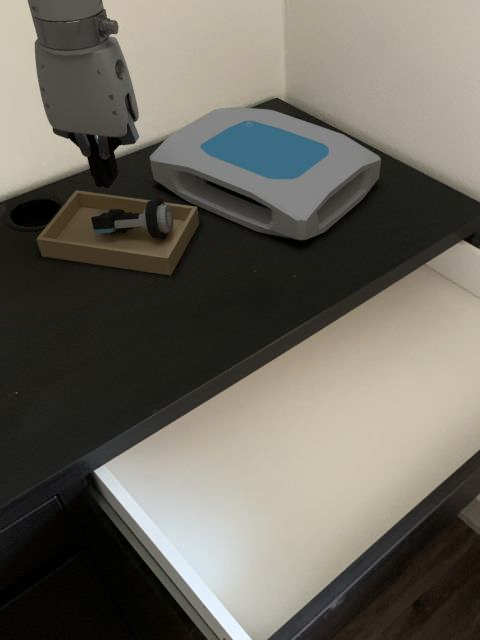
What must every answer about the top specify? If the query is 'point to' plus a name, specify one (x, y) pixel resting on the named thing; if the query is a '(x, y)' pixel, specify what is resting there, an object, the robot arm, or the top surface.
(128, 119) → the robot arm
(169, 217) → the push button
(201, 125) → the grey rounded box
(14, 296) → the top surface
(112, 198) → the tray
